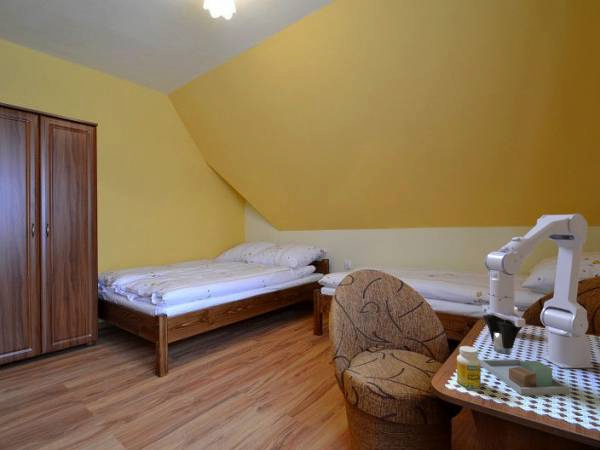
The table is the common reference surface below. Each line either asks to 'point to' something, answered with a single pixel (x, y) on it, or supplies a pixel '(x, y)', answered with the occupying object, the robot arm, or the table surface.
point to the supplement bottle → (468, 368)
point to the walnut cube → (522, 377)
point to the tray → (502, 372)
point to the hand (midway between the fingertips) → (501, 344)
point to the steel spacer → (499, 344)
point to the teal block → (539, 372)
